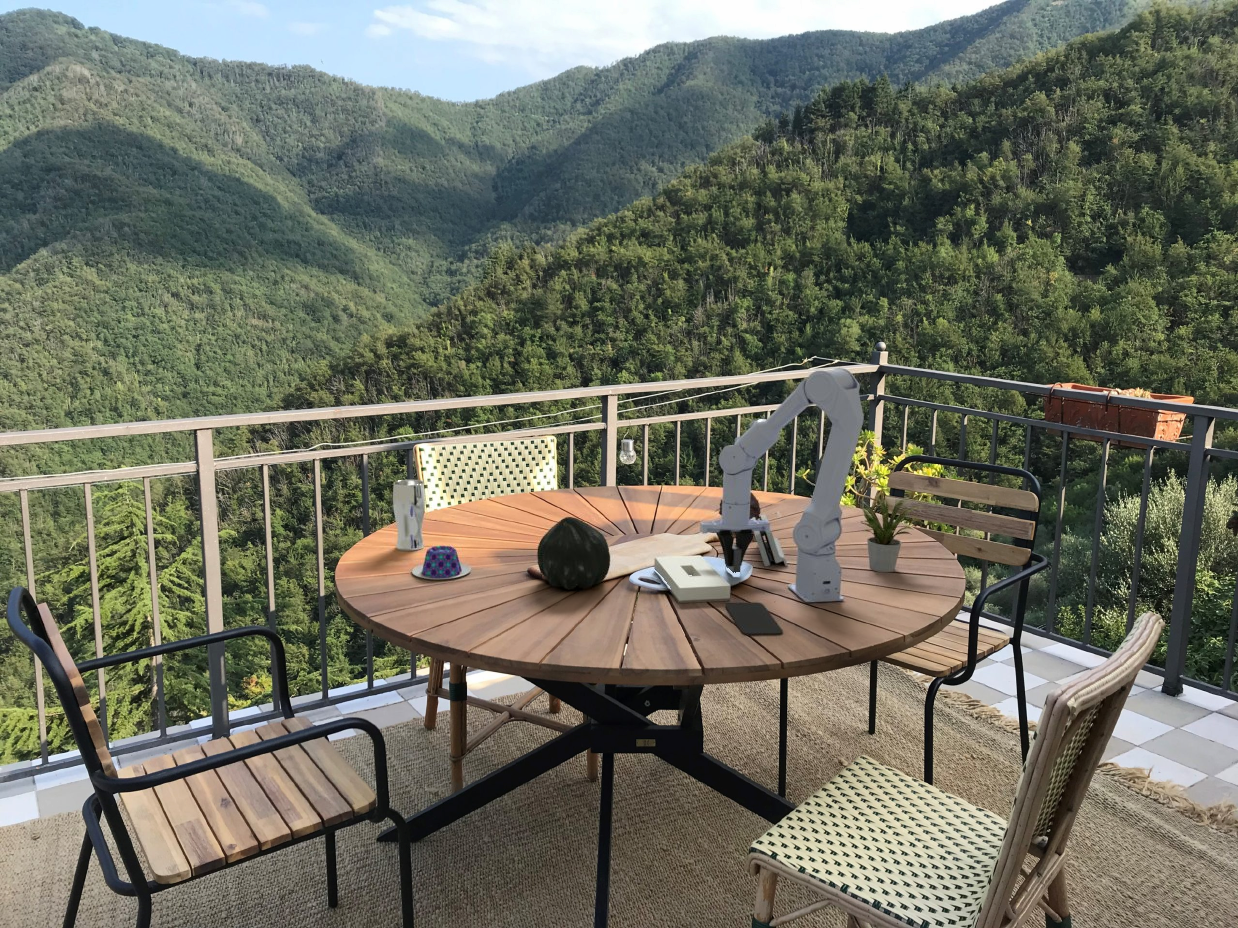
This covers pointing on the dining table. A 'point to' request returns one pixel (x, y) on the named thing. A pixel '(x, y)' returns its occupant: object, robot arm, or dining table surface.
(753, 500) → the pine cone
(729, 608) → the phone
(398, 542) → the beer glass
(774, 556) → the grey and black device
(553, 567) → the squash
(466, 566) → the pudding
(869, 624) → the dining table surface
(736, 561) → the metal block
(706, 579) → the post foot
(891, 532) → the house plant
